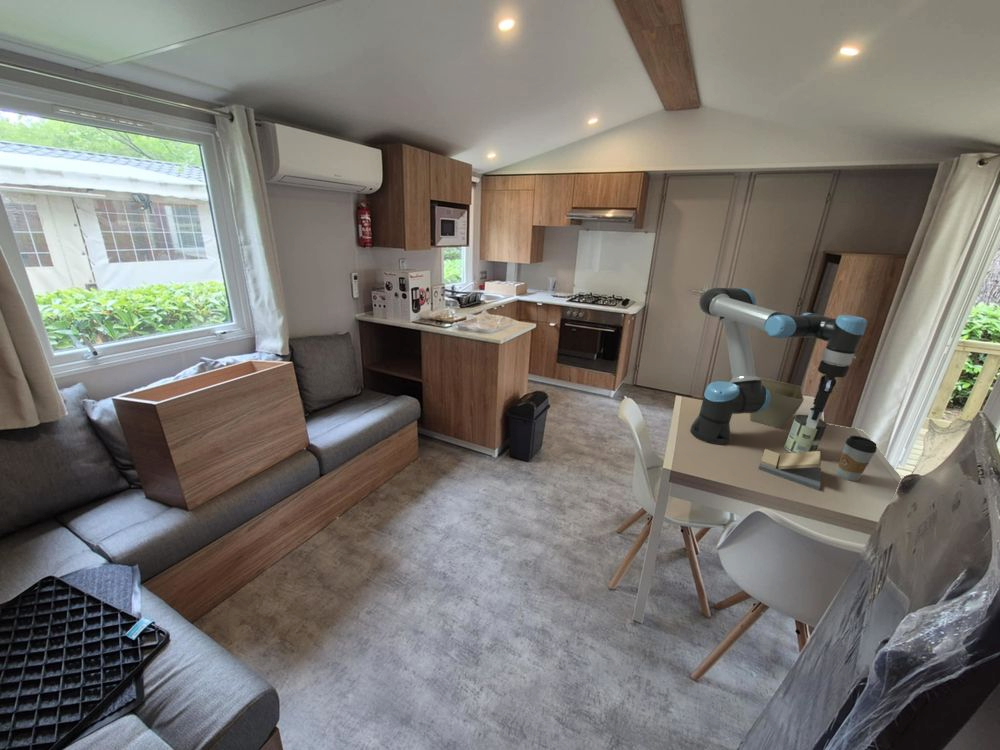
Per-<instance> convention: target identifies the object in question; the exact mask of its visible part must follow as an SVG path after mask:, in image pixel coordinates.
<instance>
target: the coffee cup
mask: <svg viewBox="0 0 1000 750" xmlns="http://www.w3.org/2000/svg"><path fill="white" fill-rule="evenodd" d="M877 450H878V447H877V443H876V442H874V441H873V440H871V439H868V438H866V437H863V436H860V435H850V436H849V437H848V438H846V440H845V445H844V448H843V451H842V453H841V456H840V459H839V462H838V465H837V467H836V468H837V469H836V474H837V476H839V477H841V478H842V479H844V480H847V481H851V482H856V481H858V480H859V479H860V477H862V474H863V473H864V471H865V470H866V468H867V467H868V464H869V463H870V461H871V460H872V457H873V456H874V454H875V453H877Z"/></svg>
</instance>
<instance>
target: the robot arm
mask: <svg viewBox="0 0 1000 750" xmlns="http://www.w3.org/2000/svg"><path fill="white" fill-rule="evenodd" d="M756 301H757V300H756V297H755V294H754V293H753V292H752V291H751V290H749V289H747V288H742V287H731V288H730V287H713V288H710V289H708V290H706V291H705V292H704V293H703V294H701V296H700V298H699V308H700V310H701V311H702V313H704V314H707V315H709V316H712V317H715V318H719V323H721V324H723V325H724V330H725V337H726V344H727V350H728V356H729V357H728V358H729V364H730V371H731V379H730V380H729V381H723V380H722V381H721V380H720V381H719V380H717V381H712V382H710V383H708V384H707V387H706V389H705V391H704V395H703V398H702V401H701V406H700V408H699V409H700V410H699V414H698V416H697V417H696V419H694V421H693V422H692V424H691V425H690V429H689V431H690V434H691V435H692V436H693V437H695V438H696V439H698V440H700V441H702V442H705V443H708V444H713V445H725V444H728V443H729V442H730V439H731V428H730V425H731V424H730V423H731V419H732V417H733V415H741V414H750V413H756V412H761V411H763V410H765V409H766V407H767V406H768V405H769V403H770V399H771V396H770V392H769V390H768V389H767V388H766V387H765V386H763V385H762V383H761V379H759V378H758V377H759V376H757V374H756V367H755V360H754V354H753V348H752V342H751V334H750V328H749V327H751V328H755V329H757V330H761V331H763V332H766V334H767V335H768V336H769V337H771V338H777V339H786V338H787V339H789V338H790V339H791V338H815V339H818V340H822V341H825V342H827V344H826V346H825V348H824V351H823V354H822V357H821V359H822V360H820V363H819V364H818V365H819V366H818V367H817V372H819V373H820V374H822V375H823V376H821V378H820V379H819V381H820V382H819V385H818V390H817V392H816V395H815V398H814V399H813V404H812V405H811V407H810V408H809V413H808V418H807V421H806V422H807V424H806V427H810V428H813V429H815V428H816V426H817V423H818V421H819V419H821V415H822V413H824V410H825V407H826V405H827V403H828V400H829V398H830V395H831V394H832V392H833V389H834V387H835V386H836V384H837V378H845V377H846V376H847V375H848V372H849V369H850V365H851V364H852V362H853V360H856V359H857V356H856V355H855V354H856V352H857V349H858V346H859V344H860V343H861V340H862V337H863V335H864V334H865V330H866V328H867V325H868V321H867V319H866V318H864V317H861V316H855V315H849V314H840V315H838V316H837V318H834V317H833V318H832V317H829V316H824V315H820V314H818V313H813V312H804V313H802V314H798V315H797V314H796V315H795V314H788V313H784V312H780V311H777V310H774V309H770V308H766V307H764V306H759V305H757V302H756Z"/></svg>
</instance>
